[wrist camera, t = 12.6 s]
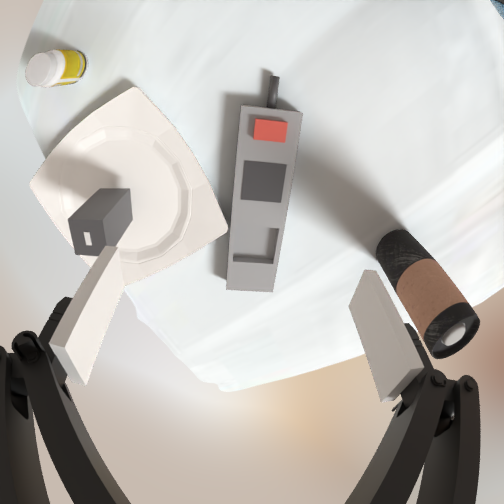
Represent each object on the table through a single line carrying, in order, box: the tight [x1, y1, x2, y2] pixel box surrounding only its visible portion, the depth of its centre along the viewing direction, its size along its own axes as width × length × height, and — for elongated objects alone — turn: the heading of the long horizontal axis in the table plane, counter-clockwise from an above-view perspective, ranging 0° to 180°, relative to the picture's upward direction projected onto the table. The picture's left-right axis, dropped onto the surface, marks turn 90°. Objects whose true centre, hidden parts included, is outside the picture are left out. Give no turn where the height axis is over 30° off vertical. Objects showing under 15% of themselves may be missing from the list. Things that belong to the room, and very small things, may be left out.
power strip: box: [226, 76, 303, 292], centre depth 36 cm, size 30×7×3 cm, turn 174°
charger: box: [68, 188, 133, 256], centre depth 31 cm, size 4×4×9 cm
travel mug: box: [376, 230, 480, 359], centre depth 35 cm, size 8×8×20 cm
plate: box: [30, 87, 228, 286], centre depth 36 cm, size 24×24×3 cm
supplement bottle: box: [25, 49, 88, 87], centre depth 23 cm, size 5×5×8 cm
